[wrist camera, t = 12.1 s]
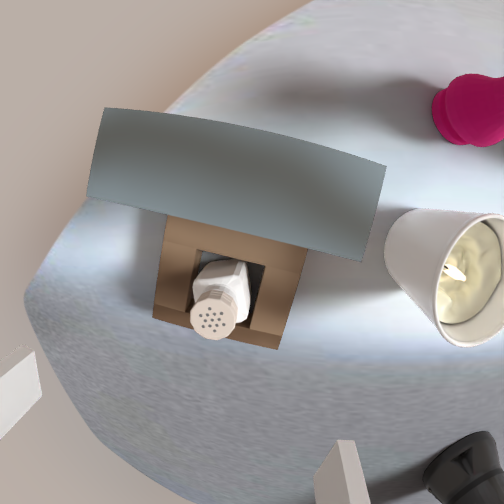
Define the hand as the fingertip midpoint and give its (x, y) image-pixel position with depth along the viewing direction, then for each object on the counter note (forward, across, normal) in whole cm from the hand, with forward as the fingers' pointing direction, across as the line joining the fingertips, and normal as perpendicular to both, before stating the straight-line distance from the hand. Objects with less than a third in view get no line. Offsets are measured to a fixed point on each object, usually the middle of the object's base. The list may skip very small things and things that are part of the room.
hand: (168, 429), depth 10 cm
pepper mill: (+20, -19, -23) cm, 36 cm away
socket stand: (+20, 0, -4) cm, 20 cm away
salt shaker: (+20, 0, 0) cm, 20 cm away
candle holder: (+20, -18, -8) cm, 28 cm away
